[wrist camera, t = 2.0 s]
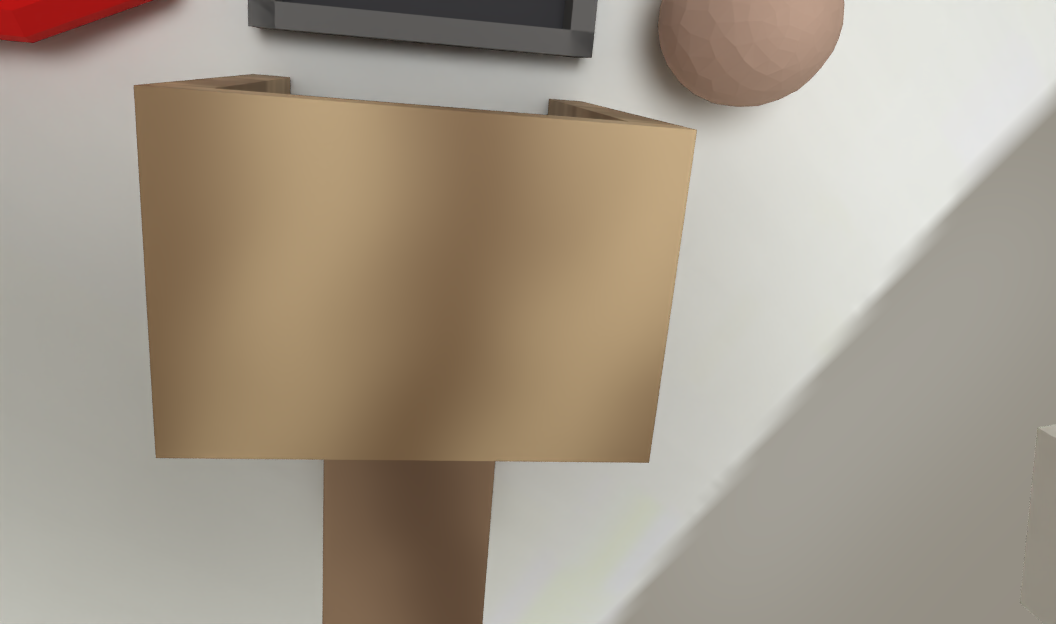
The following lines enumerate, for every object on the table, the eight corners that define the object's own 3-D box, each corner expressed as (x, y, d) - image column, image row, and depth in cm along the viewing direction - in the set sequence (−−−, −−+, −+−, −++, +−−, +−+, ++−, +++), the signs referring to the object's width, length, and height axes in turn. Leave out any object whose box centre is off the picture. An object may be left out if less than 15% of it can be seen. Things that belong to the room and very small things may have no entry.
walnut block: (343, 501, 32) (322, 637, 25) (348, 126, 28) (326, 152, 20) (465, 501, 33) (481, 632, 25) (489, 137, 29) (518, 165, 21)
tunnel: (257, 300, 29) (155, 458, 18) (253, 74, 27) (133, 85, 15) (560, 312, 31) (648, 462, 19) (581, 101, 29) (696, 130, 17)
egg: (805, 27, 29) (930, 16, 22) (699, 132, 29) (787, 154, 23) (715, -91, 27) (820, -143, 20) (605, 23, 28) (669, 11, 21)
